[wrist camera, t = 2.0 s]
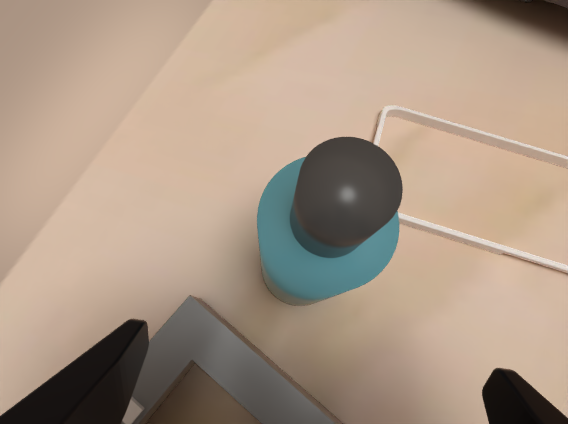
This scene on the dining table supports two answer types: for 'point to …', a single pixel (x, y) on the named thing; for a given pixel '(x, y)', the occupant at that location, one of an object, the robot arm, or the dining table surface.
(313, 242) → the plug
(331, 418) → the socket
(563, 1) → the bluetooth speaker
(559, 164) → the phone case
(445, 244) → the dining table surface
